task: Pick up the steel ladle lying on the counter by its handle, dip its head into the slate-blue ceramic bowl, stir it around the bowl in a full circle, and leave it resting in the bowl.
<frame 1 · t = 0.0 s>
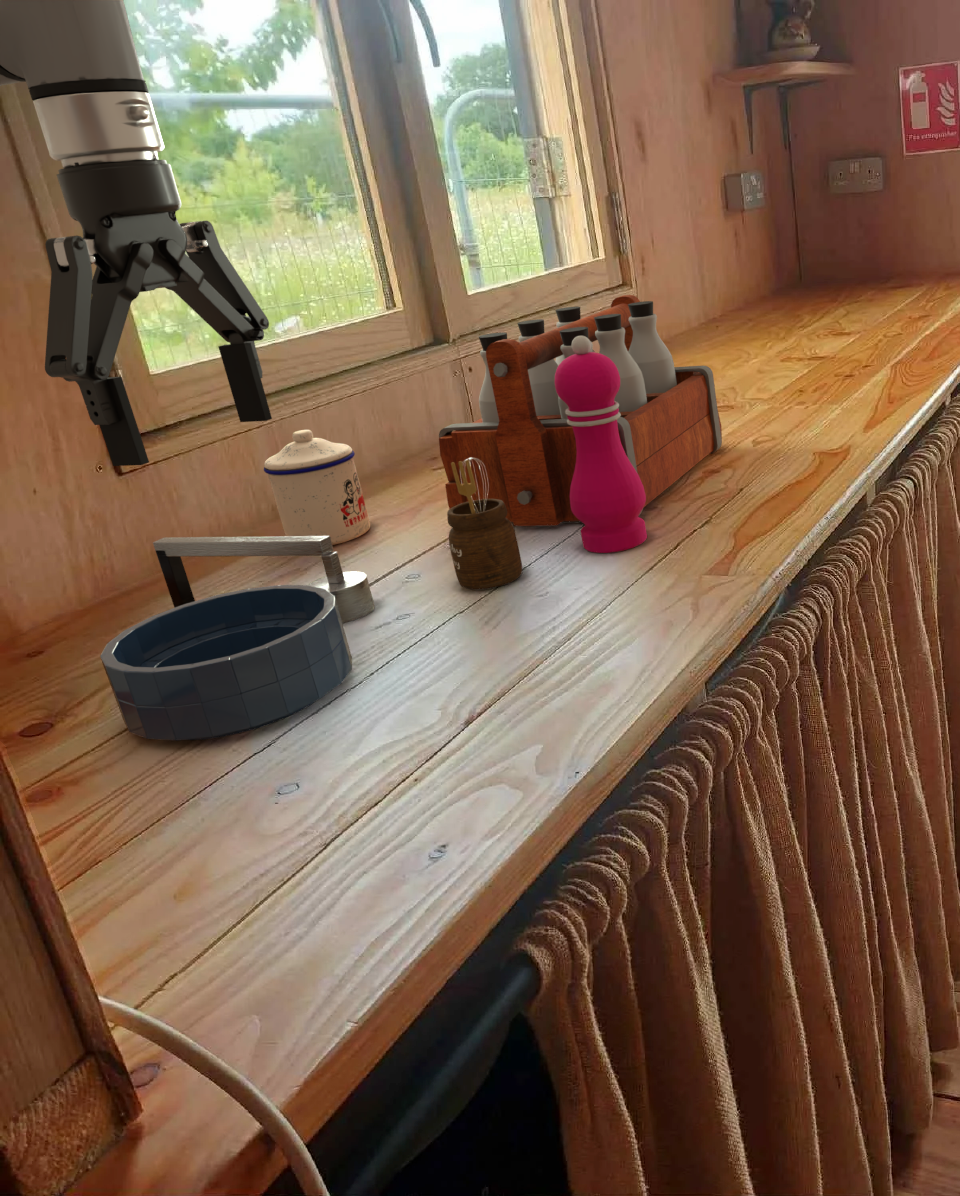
hand: (198, 441, 91), 17 cm above the counter, tool pointing down, fingers open, 13 cm apart
bowl: (245, 698, 84), on the counter
milk bottle holder: (600, 486, 131), on the counter
utensil holder: (491, 581, 103), on the counter
pepper mill: (615, 544, 110), on the counter
ladle: (345, 613, 99), on the counter
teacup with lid: (332, 534, 124), on the counter
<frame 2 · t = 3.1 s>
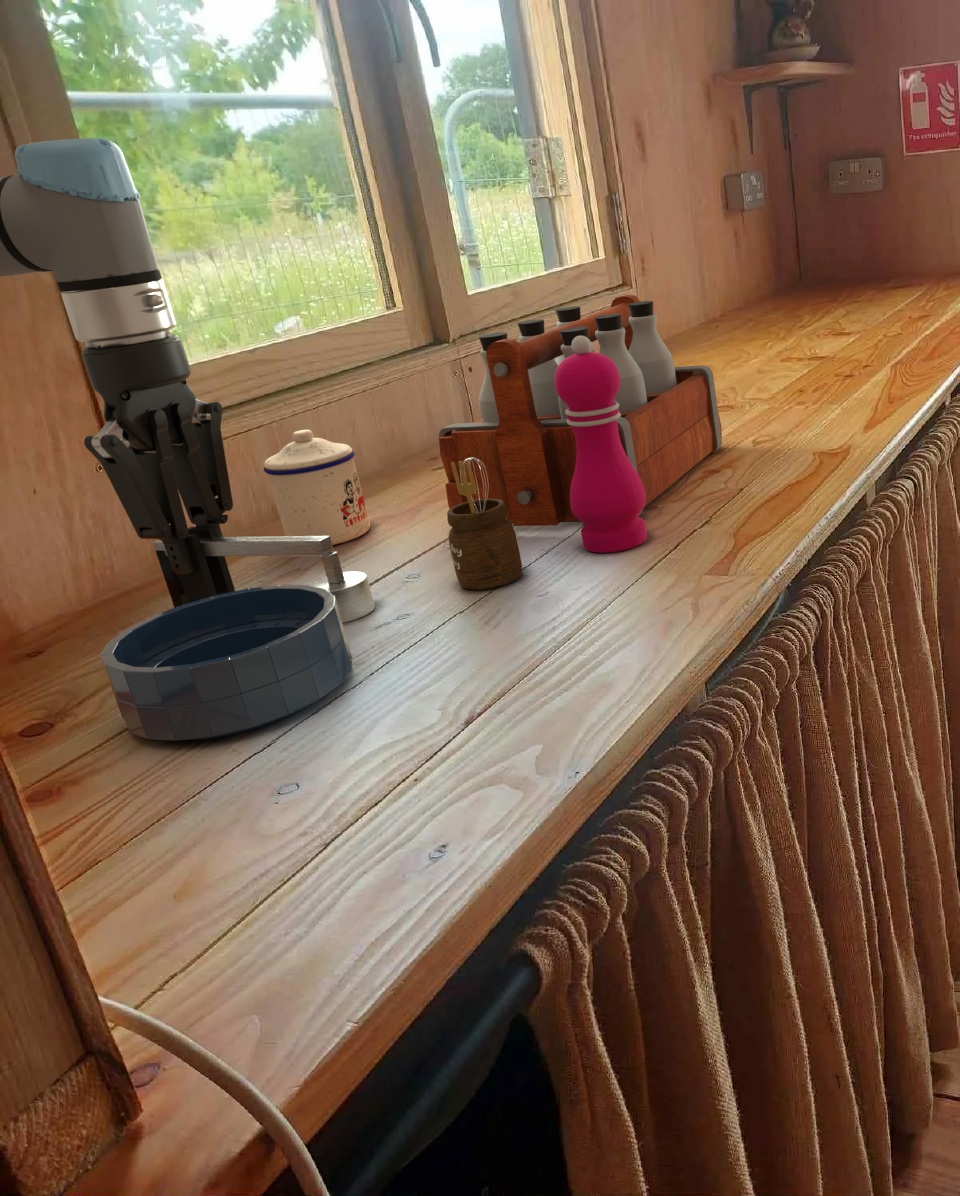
hand: (212, 598, 103), 1 cm above the counter, tool pointing down, fingers closed on ladle, 1 cm apart
ladle: (345, 613, 99), on the counter, touching gripper
everything else where it was.
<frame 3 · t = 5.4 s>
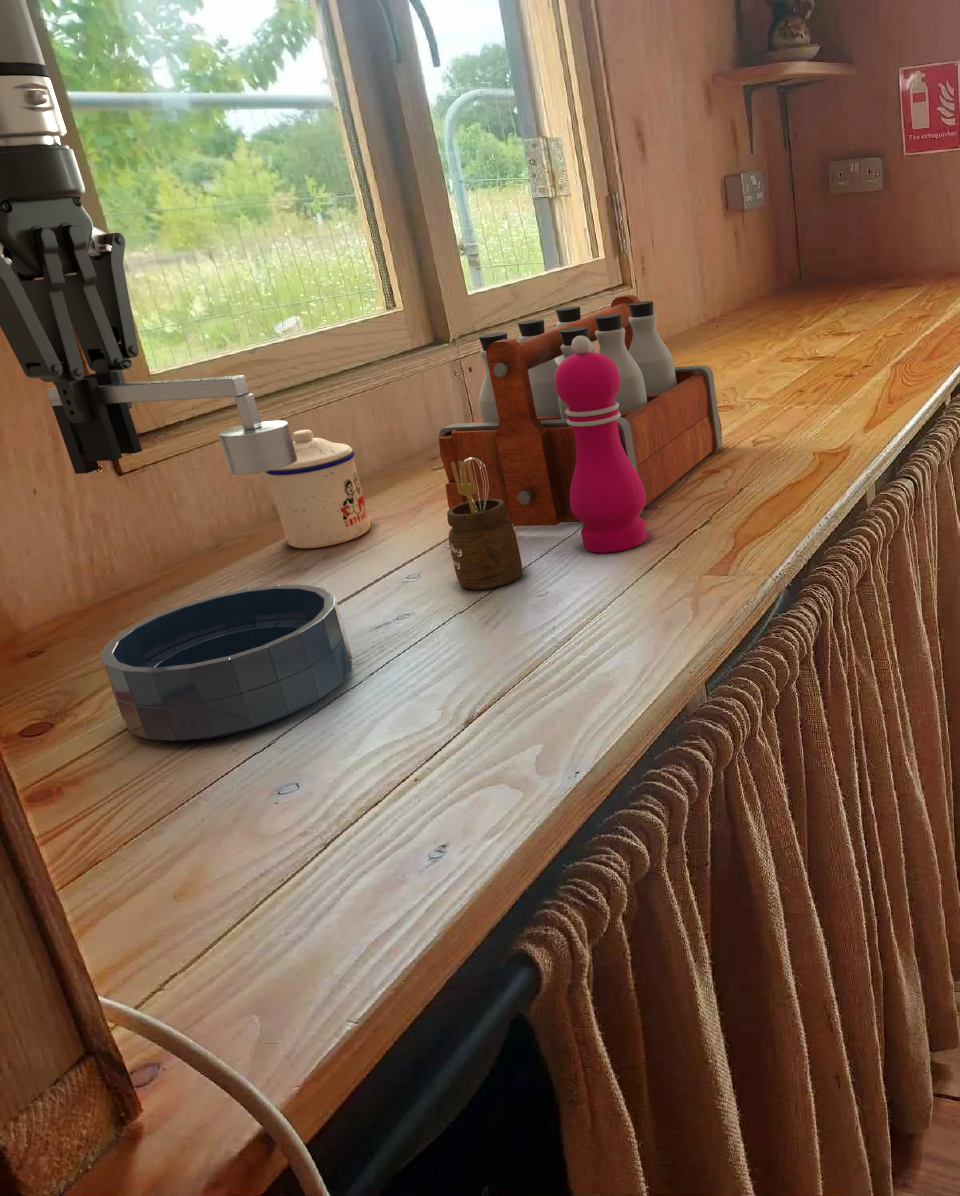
hand: (115, 455, 91), 16 cm above the counter, tool pointing down, fingers closed on ladle, 1 cm apart
ladle: (263, 465, 88), point 15 cm above the counter, touching gripper
everything else where it was.
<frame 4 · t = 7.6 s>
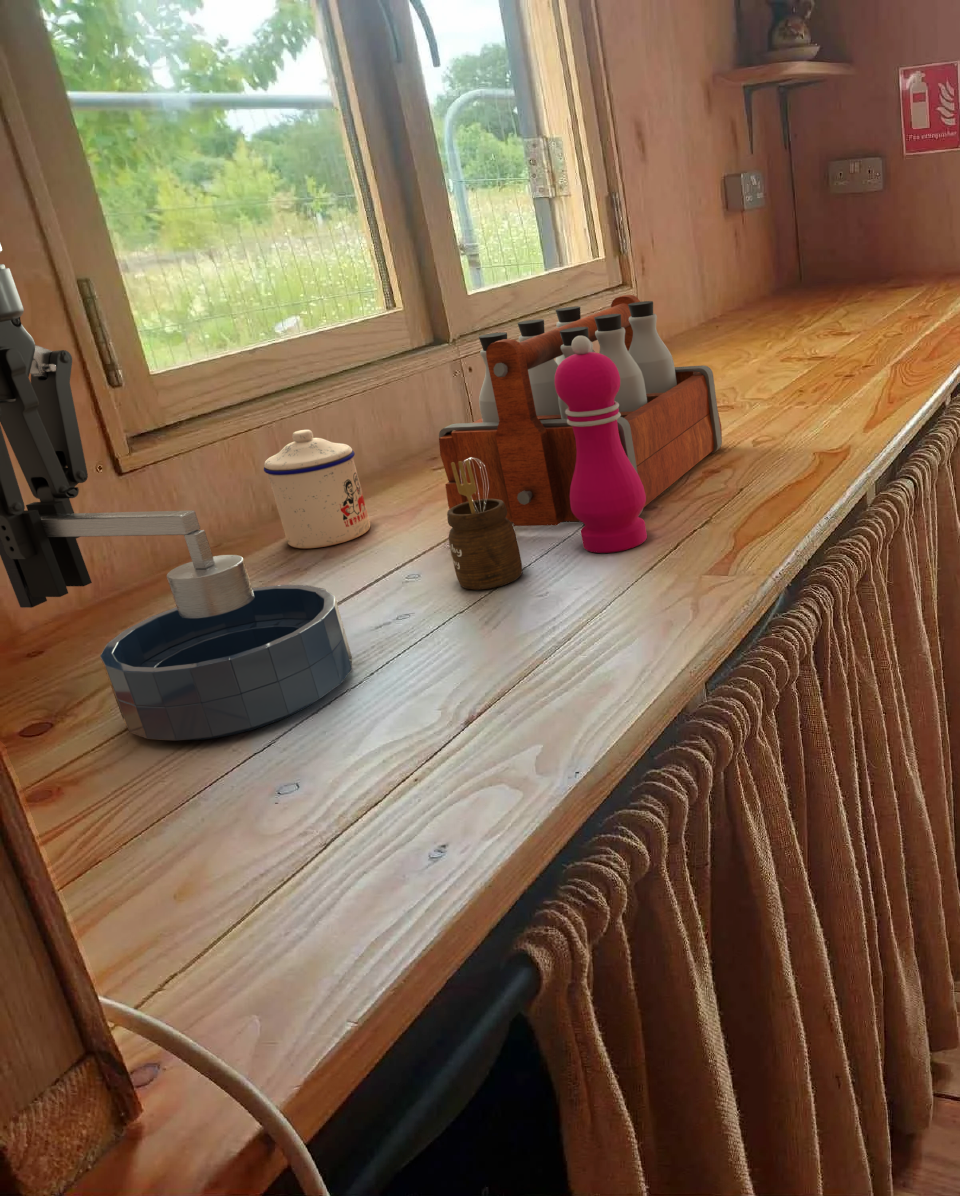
hand: (62, 589, 85), 9 cm above the counter, tool pointing down, fingers closed on ladle, 1 cm apart
ladle: (217, 605, 81), point 8 cm above the counter, touching gripper
everything else where it was.
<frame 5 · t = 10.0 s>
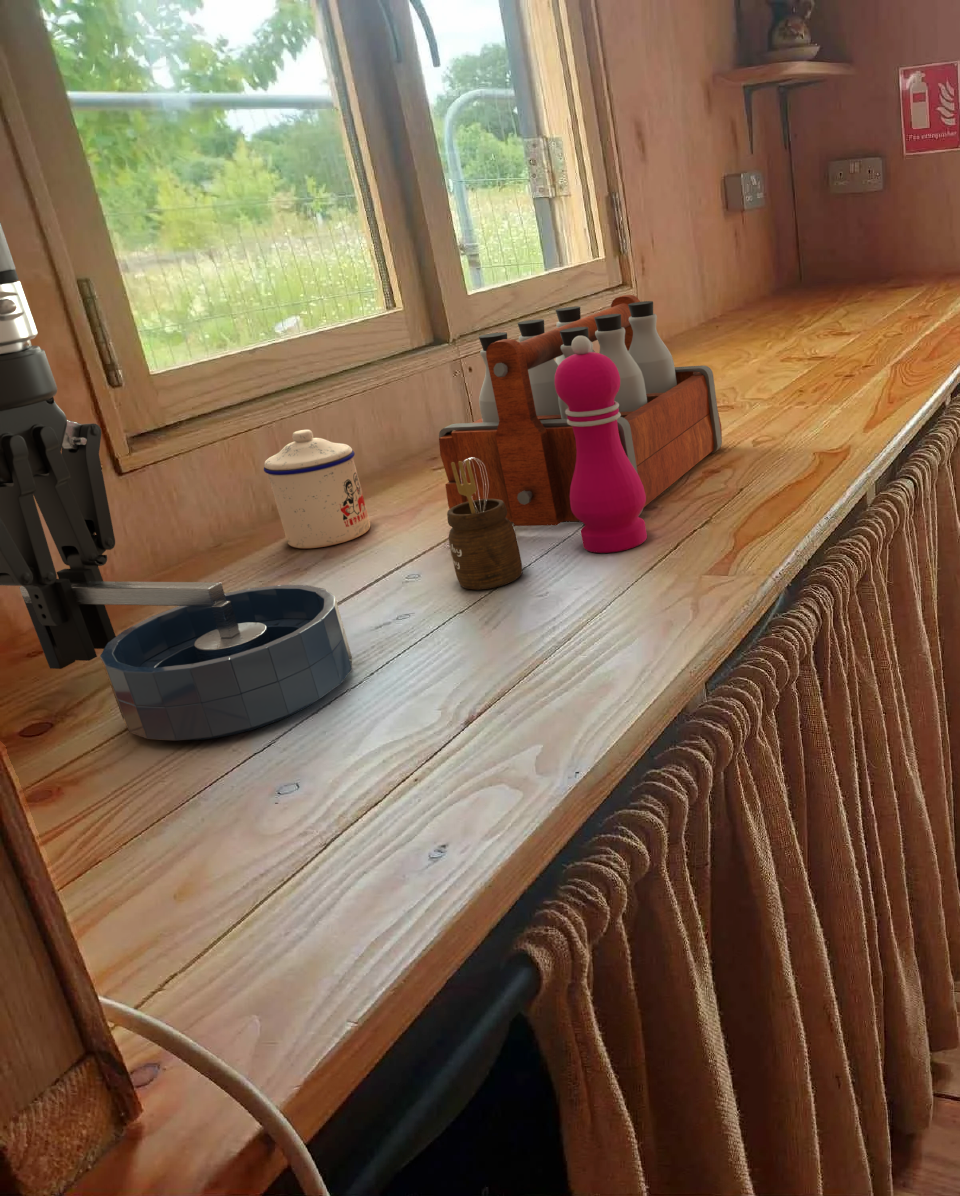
hand: (90, 651, 88), 3 cm above the counter, tool pointing down, fingers closed on ladle, 1 cm apart
ladle: (241, 671, 85), point 2 cm above the counter, touching gripper
everything else where it was.
when the fingers open (2 cm above the counter, at t = 12.0 s): ladle stays where it is, resting on bowl.
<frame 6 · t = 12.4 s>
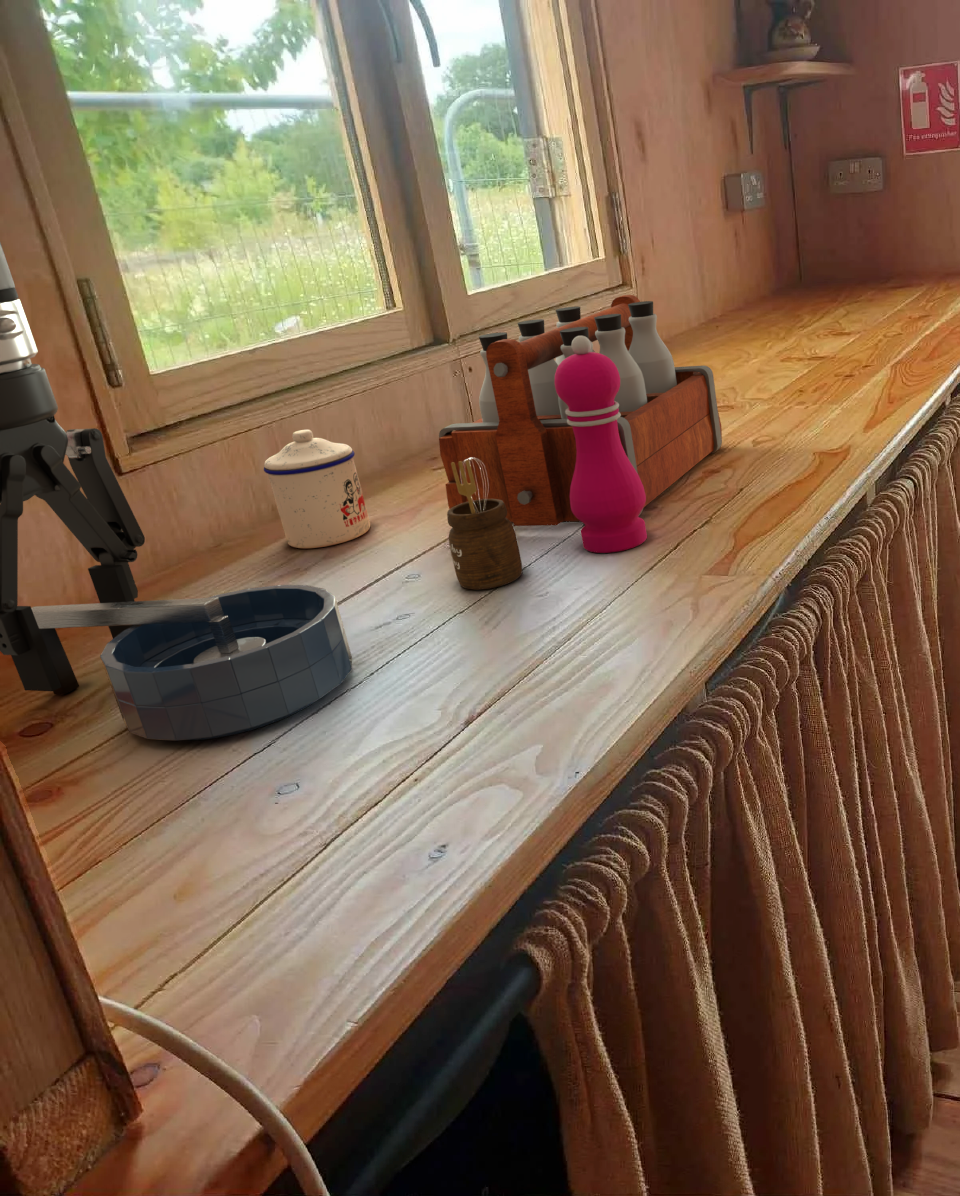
hand: (89, 663, 87), 2 cm above the counter, tool pointing down, fingers open, 8 cm apart
ladle: (243, 687, 84), point 1 cm above the counter, touching bowl
everything else where it was.
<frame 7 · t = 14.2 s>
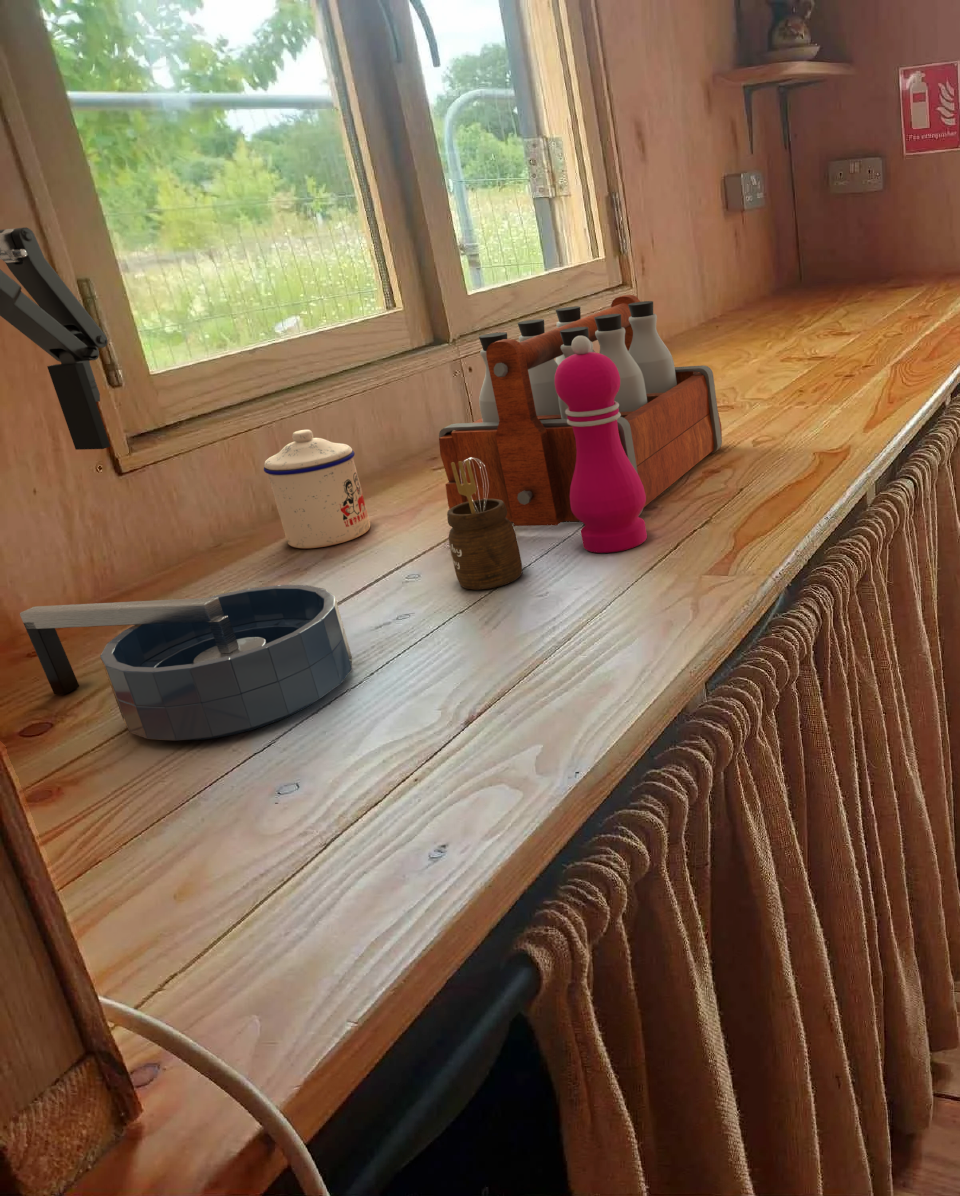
hand: (16, 473, 82), 18 cm above the counter, tool pointing down, fingers open, 13 cm apart
nothing on the counter moved.
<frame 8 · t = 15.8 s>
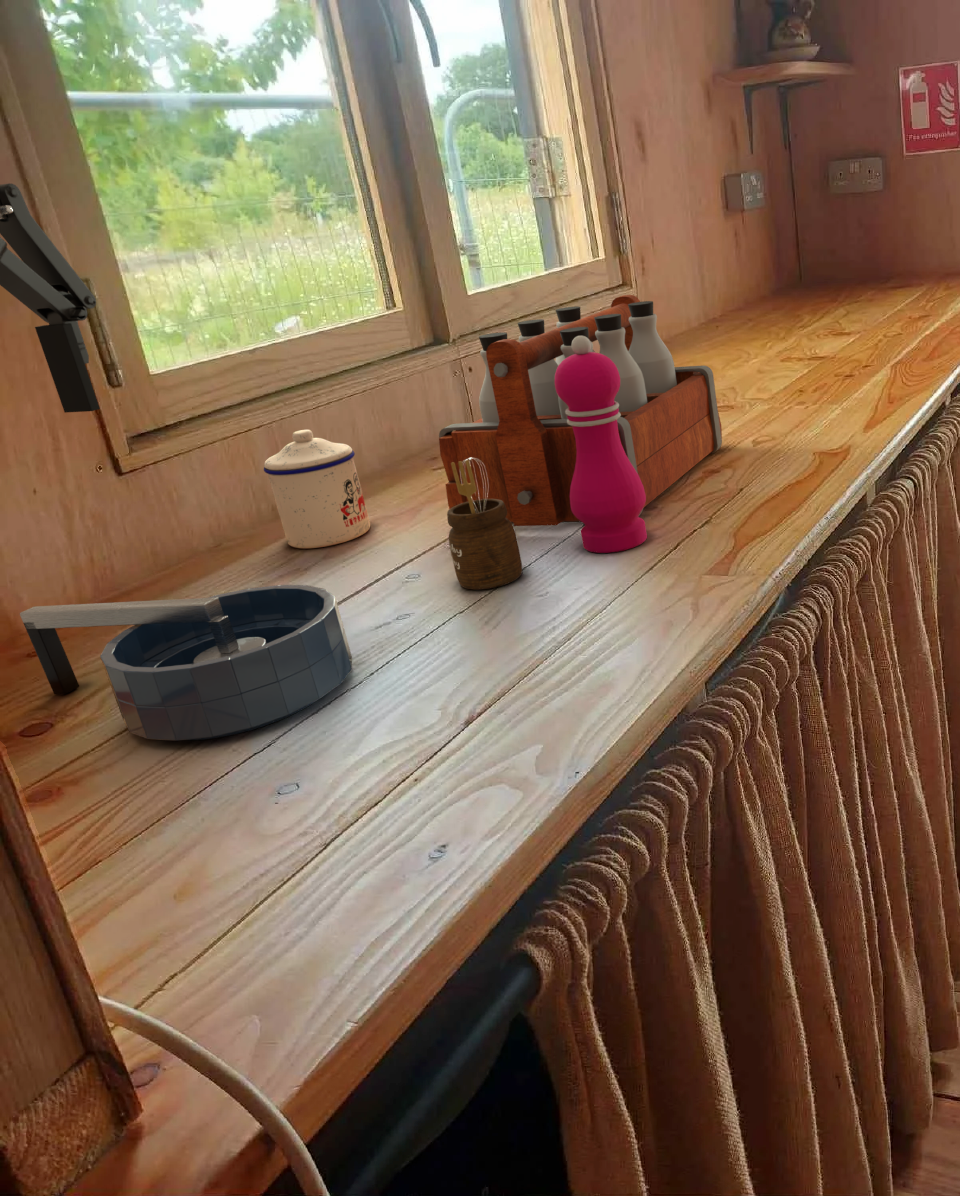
hand: (3, 433, 80), 21 cm above the counter, tool pointing down, fingers open, 13 cm apart
nothing on the counter moved.
at the end: ladle inside the target area in the bowl (0.1 cm from its centre), point 0.9 cm above the bowl's base; the gripper is holding nothing; ladle moved 16.4 cm from its start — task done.
